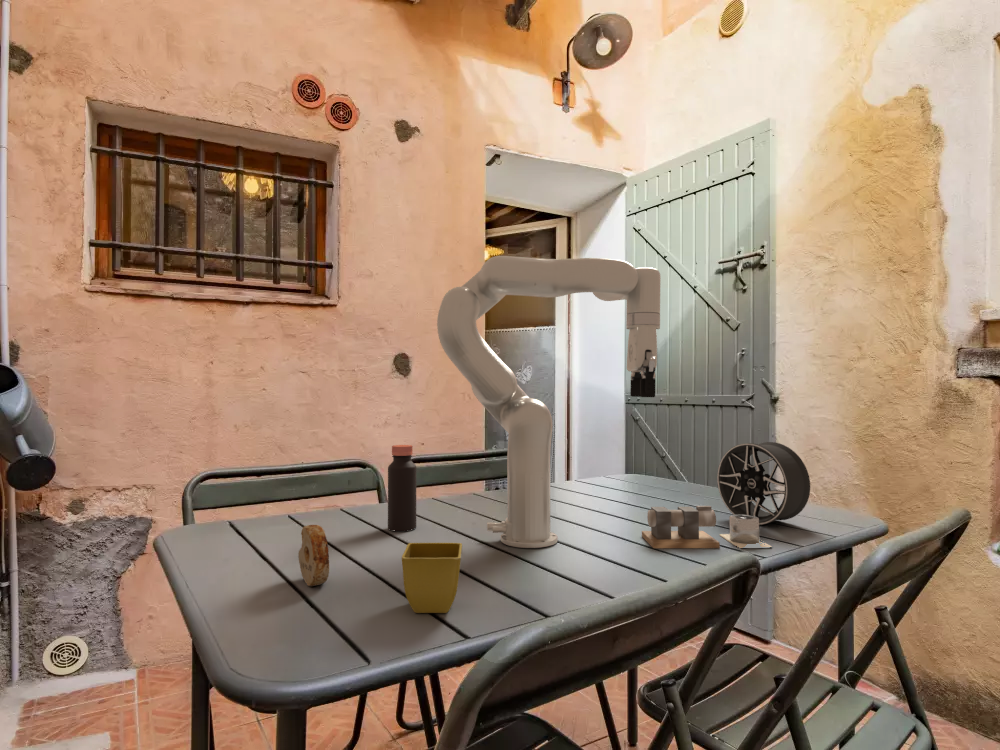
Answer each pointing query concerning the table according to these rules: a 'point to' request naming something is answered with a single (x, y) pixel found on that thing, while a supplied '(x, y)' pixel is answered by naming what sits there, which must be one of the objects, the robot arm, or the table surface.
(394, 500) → the bottle
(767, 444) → the wheel rim
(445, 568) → the flower pot
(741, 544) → the mat
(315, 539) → the stone disc
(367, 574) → the table surface
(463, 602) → the table surface
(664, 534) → the shaft stand
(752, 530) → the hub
